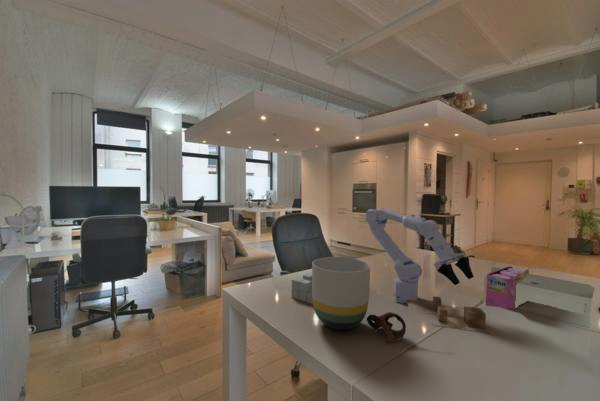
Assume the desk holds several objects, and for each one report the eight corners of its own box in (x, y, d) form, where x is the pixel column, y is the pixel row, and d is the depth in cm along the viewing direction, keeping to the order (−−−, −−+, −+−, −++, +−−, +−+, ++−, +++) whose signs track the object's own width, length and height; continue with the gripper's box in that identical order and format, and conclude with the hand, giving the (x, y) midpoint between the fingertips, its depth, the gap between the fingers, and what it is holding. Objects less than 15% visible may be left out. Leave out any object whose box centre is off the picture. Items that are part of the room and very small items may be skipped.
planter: (331, 346, 81) (333, 275, 80) (301, 318, 98) (302, 260, 97) (381, 332, 90) (382, 267, 89) (345, 308, 107) (346, 254, 106)
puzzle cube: (314, 305, 110) (314, 285, 110) (291, 297, 118) (291, 279, 117) (329, 296, 120) (330, 278, 120) (307, 290, 127) (307, 273, 127)
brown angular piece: (440, 327, 92) (441, 312, 92) (436, 317, 99) (436, 303, 99) (486, 334, 88) (487, 318, 88) (478, 323, 95) (479, 308, 95)
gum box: (508, 295, 125) (509, 265, 124) (530, 301, 118) (531, 270, 118) (484, 306, 112) (486, 273, 111) (507, 314, 105) (509, 279, 105)
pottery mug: (399, 329, 92) (407, 314, 88) (399, 355, 85) (409, 340, 80) (364, 317, 95) (371, 301, 90) (361, 341, 87) (368, 325, 82)
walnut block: (467, 327, 91) (468, 312, 91) (463, 320, 96) (464, 306, 95) (485, 329, 89) (485, 314, 89) (479, 322, 94) (480, 308, 94)
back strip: (435, 315, 101) (435, 301, 101) (431, 307, 108) (432, 294, 108) (476, 321, 97) (477, 306, 97) (470, 312, 104) (470, 298, 104)
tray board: (431, 329, 91) (431, 325, 91) (422, 306, 110) (422, 302, 110) (489, 338, 87) (490, 333, 87) (470, 312, 105) (470, 308, 105)
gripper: (434, 247, 99) (458, 282, 92) (461, 238, 104) (485, 271, 98) (423, 255, 104) (445, 289, 98) (449, 247, 110) (471, 278, 103)
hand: (464, 281), depth 98 cm, fingers open, 7 cm apart
